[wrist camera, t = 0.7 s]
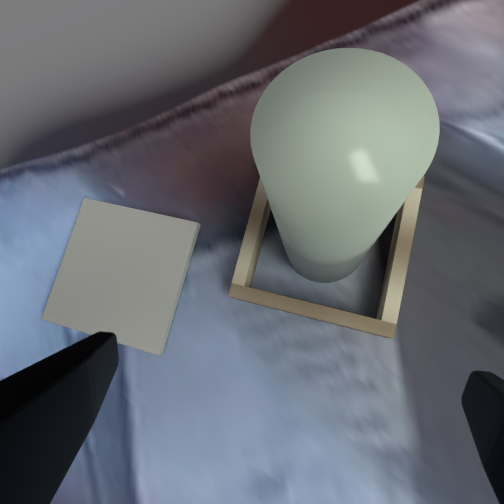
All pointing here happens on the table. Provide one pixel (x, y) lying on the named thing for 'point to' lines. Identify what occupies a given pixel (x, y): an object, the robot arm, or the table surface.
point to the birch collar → (379, 326)
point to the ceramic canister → (341, 153)
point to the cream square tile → (122, 274)
